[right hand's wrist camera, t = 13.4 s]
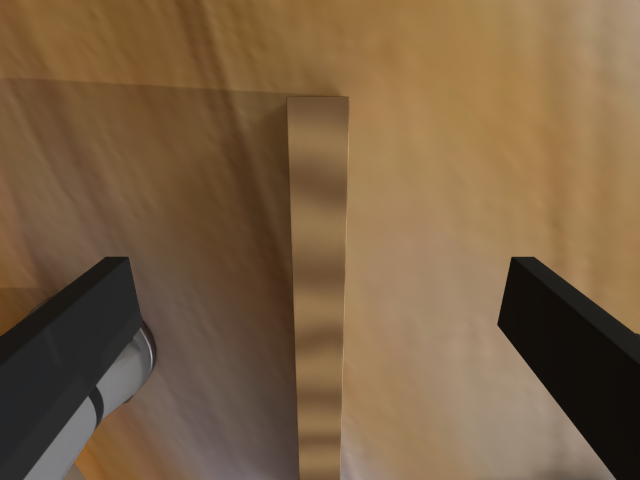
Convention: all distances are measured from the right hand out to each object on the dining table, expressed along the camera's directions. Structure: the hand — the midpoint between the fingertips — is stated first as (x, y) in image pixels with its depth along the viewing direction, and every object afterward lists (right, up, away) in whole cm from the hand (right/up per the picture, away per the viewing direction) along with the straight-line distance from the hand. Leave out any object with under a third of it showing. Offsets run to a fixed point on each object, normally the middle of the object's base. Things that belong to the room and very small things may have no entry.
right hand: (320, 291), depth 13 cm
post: (0, -11, +32) cm, 34 cm away
